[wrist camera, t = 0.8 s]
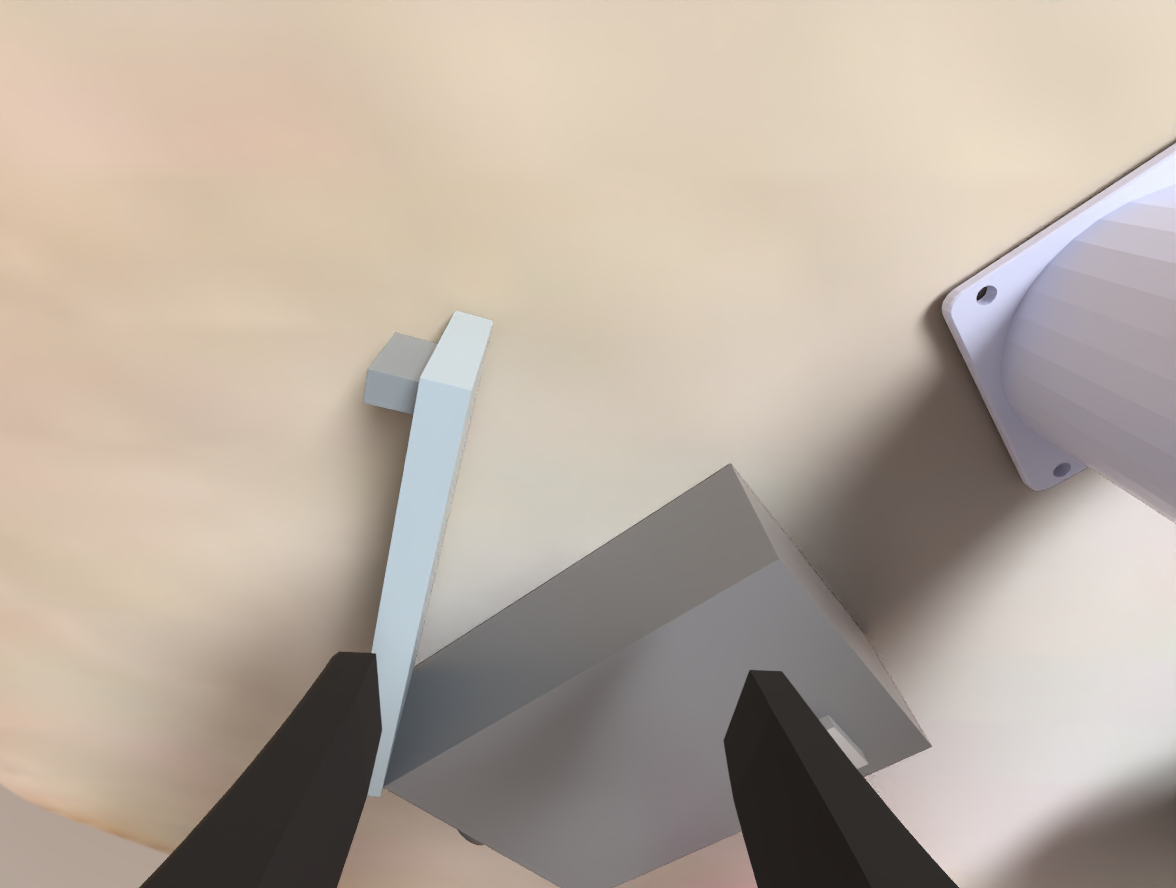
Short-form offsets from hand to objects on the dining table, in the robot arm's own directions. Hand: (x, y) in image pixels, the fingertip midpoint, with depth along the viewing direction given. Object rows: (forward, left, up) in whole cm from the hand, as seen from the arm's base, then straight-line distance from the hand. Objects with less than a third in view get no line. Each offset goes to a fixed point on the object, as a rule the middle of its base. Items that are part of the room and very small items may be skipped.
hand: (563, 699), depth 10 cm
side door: (+5, -1, -8) cm, 10 cm away
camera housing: (+3, +8, -8) cm, 12 cm away
